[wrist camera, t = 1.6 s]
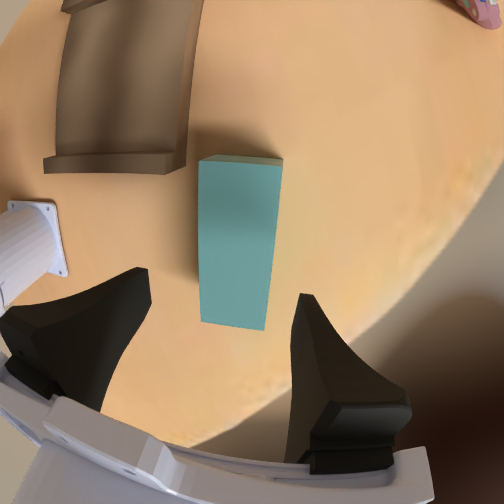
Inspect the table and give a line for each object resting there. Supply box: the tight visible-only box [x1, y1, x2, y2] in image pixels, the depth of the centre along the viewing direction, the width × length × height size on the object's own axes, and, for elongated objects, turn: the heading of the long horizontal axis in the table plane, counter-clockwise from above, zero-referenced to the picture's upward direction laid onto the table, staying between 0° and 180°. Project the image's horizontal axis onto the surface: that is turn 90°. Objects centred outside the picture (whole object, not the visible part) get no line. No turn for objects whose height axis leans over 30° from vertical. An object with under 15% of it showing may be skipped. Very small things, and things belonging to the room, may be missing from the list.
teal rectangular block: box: [198, 154, 283, 331], centre depth 18 cm, size 4×11×4 cm, turn 176°
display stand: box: [43, 0, 204, 175], centre depth 13 cm, size 11×15×4 cm
